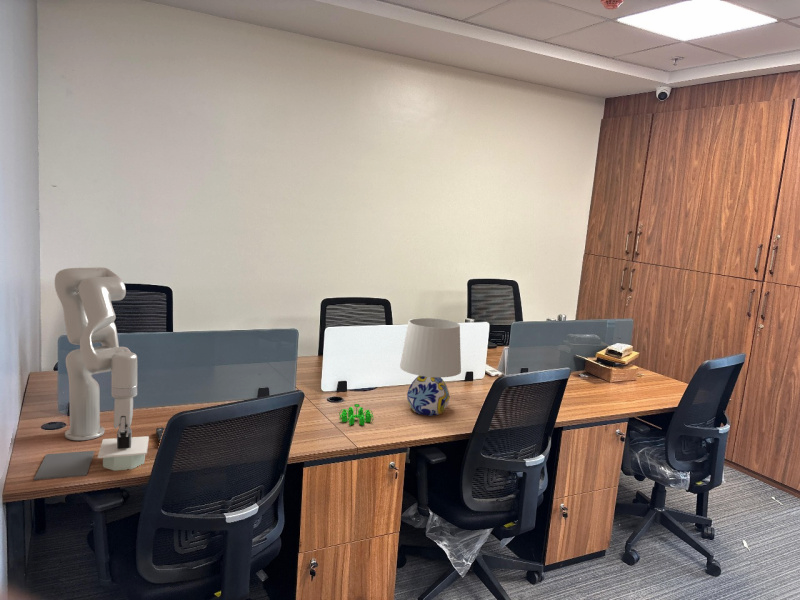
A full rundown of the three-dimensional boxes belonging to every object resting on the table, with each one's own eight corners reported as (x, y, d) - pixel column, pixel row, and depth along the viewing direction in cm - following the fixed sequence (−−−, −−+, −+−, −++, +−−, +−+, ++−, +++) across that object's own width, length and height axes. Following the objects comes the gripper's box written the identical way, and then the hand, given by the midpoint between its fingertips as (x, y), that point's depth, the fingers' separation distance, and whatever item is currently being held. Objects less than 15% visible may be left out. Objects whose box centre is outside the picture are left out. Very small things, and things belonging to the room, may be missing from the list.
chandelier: (378, 418, 250) (379, 402, 249) (367, 429, 236) (368, 413, 235) (345, 412, 254) (346, 397, 253) (332, 423, 240) (333, 407, 239)
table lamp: (412, 396, 281) (418, 314, 275) (465, 408, 270) (473, 323, 264) (386, 412, 257) (392, 322, 251) (444, 425, 246) (451, 332, 240)
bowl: (106, 456, 195) (106, 441, 195) (145, 453, 200) (145, 439, 199) (101, 471, 184) (101, 456, 184) (143, 468, 189) (143, 453, 188)
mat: (46, 455, 193) (46, 454, 193) (94, 452, 198) (94, 450, 198) (34, 480, 176) (34, 478, 176) (86, 475, 181) (86, 474, 181)
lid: (103, 440, 195) (102, 424, 194) (148, 437, 200) (148, 422, 199) (97, 458, 182) (97, 441, 181) (146, 454, 187) (146, 437, 186)
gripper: (114, 383, 195) (114, 435, 198) (108, 399, 179) (108, 456, 182) (138, 382, 198) (138, 433, 200) (135, 398, 182) (135, 454, 185)
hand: (124, 443), depth 191 cm, fingers open, 5 cm apart
